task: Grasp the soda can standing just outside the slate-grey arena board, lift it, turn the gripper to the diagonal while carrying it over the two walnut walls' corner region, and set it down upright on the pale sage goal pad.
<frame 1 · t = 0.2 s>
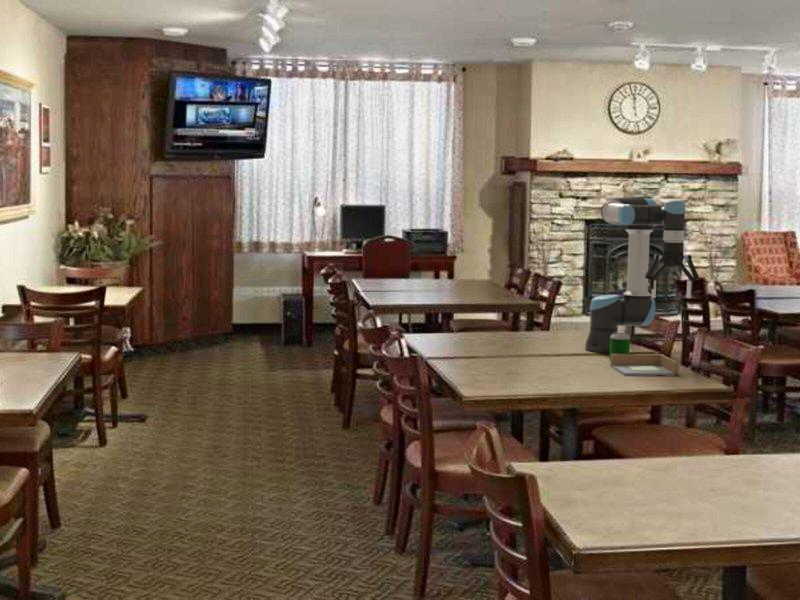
hand: (671, 298, 402), 27 cm above the table, fingers open, 13 cm apart
arena: (643, 371, 400), on the table
goal pad: (643, 368, 400), point 1 cm above the table
soda can: (619, 364, 416), on the table
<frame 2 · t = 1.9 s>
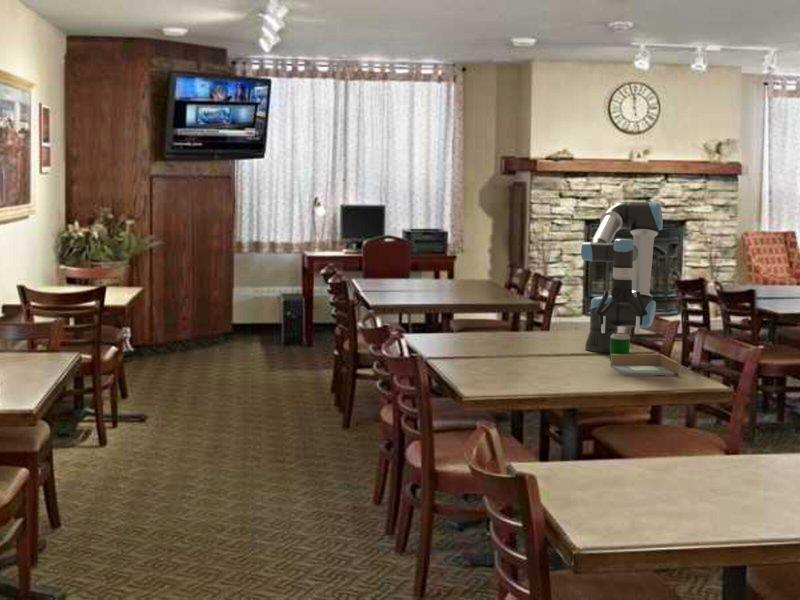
hand: (620, 333, 414), 12 cm above the table, fingers open, 13 cm apart
nothing on the table moved.
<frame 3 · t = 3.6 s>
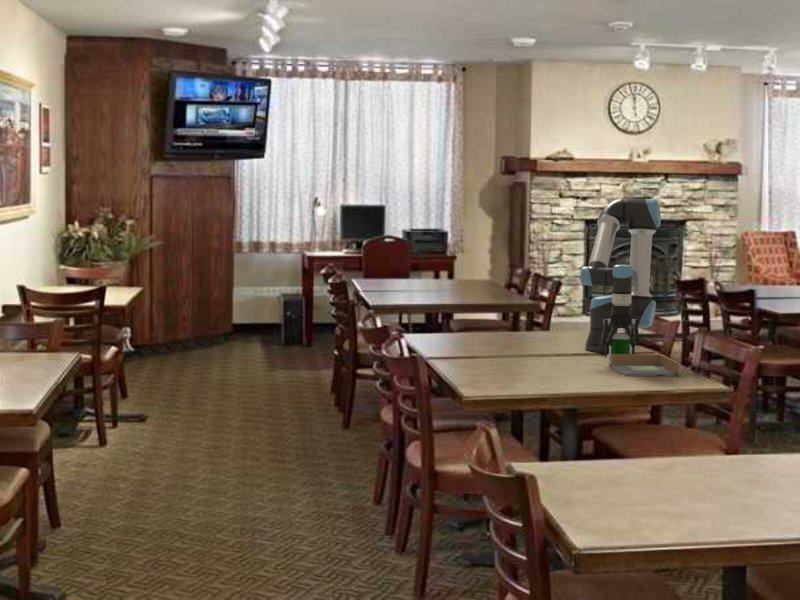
hand: (619, 362, 416), 1 cm above the table, fingers closed on soda can, 7 cm apart
soda can: (619, 364, 416), on the table, touching gripper
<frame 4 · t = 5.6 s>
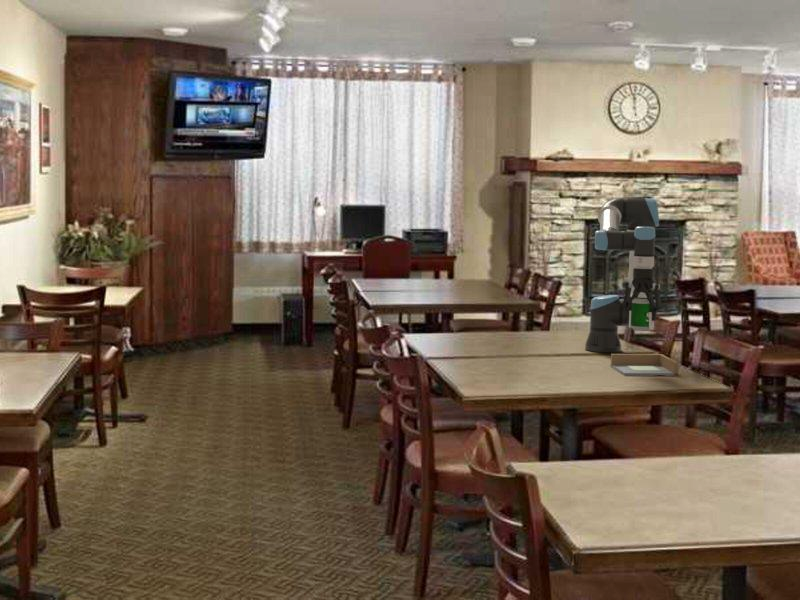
hand: (641, 328, 400), 16 cm above the table, fingers closed on soda can, 7 cm apart
soda can: (641, 330, 400), point 15 cm above the table, touching gripper
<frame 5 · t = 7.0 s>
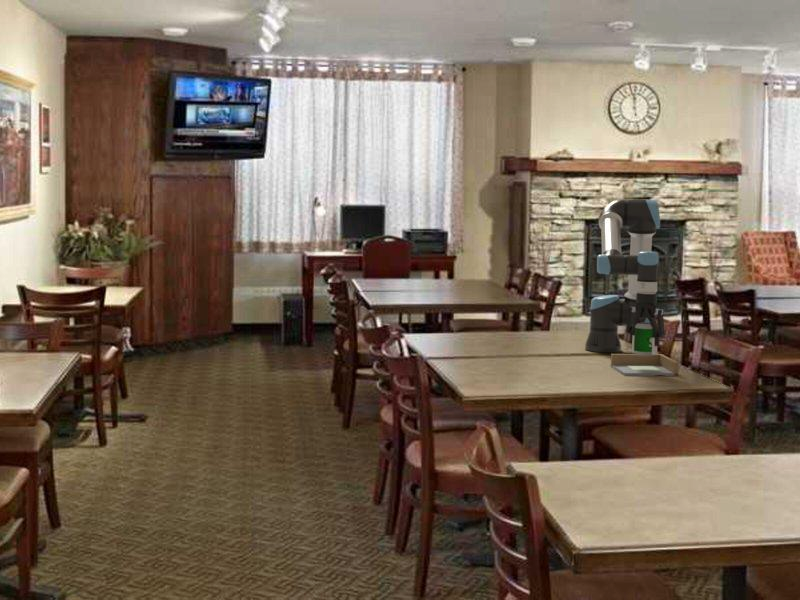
hand: (644, 353, 399), 7 cm above the table, fingers closed on soda can, 7 cm apart
soda can: (644, 355, 399), point 6 cm above the table, touching gripper
when the fingers open (4 cm above the table, at t = 7.9 s): soda can drops 2 cm, resting on goal pad.
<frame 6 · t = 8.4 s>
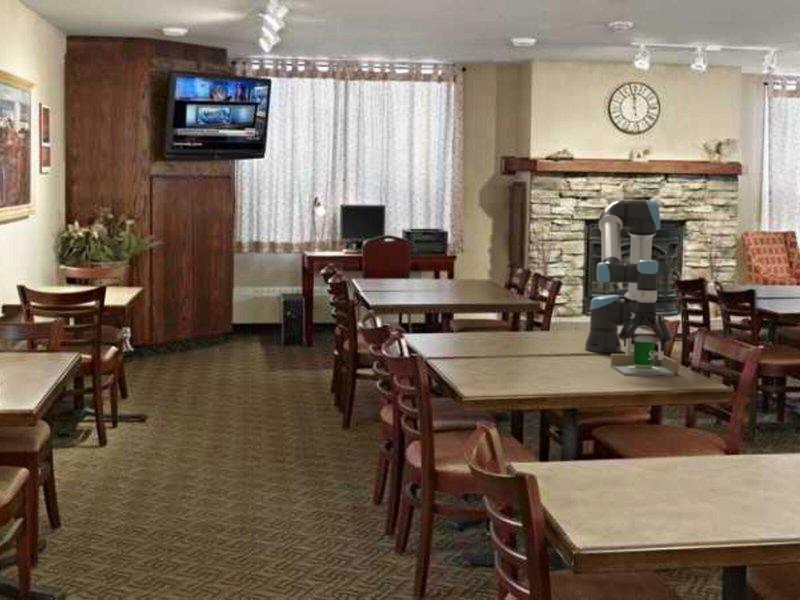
hand: (644, 357, 400), 5 cm above the table, fingers open, 13 cm apart
soda can: (643, 368, 400), point 1 cm above the table, touching goal pad
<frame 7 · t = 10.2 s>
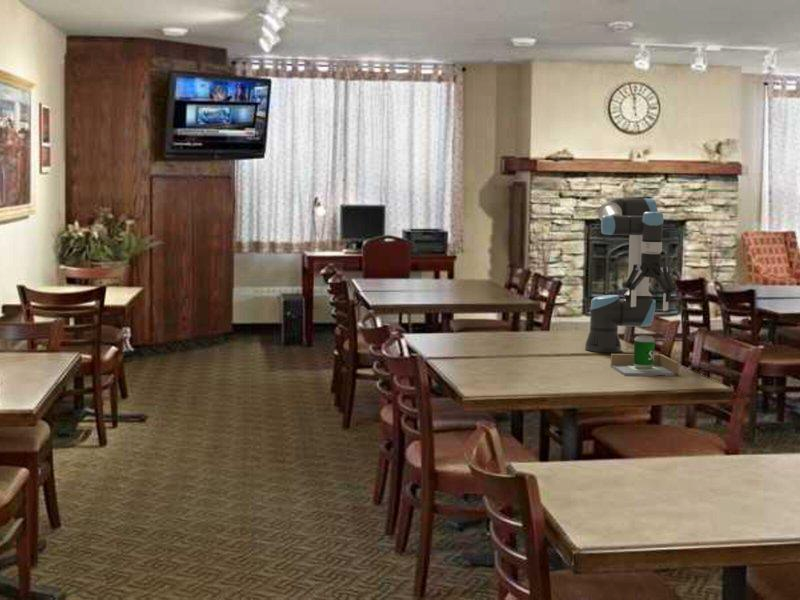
hand: (649, 308, 404), 23 cm above the table, fingers open, 13 cm apart
nothing on the table moved.
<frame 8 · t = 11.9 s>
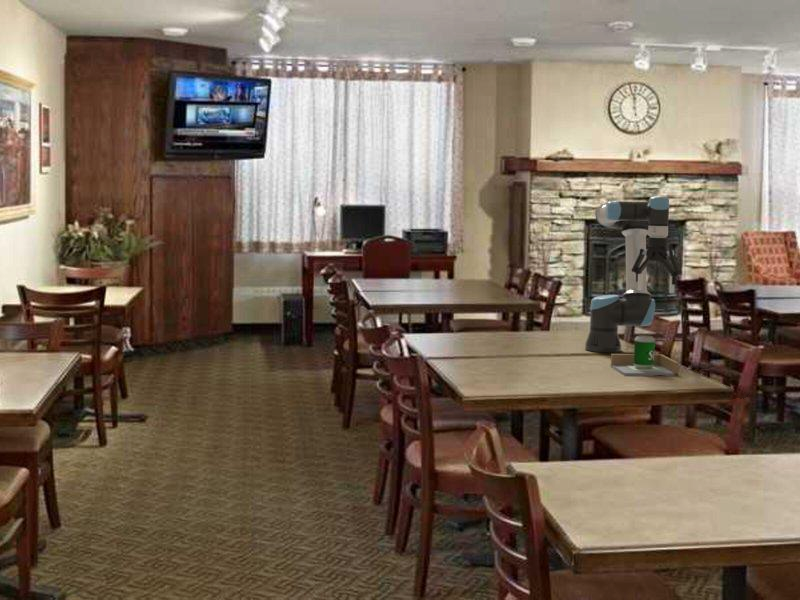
hand: (655, 291, 413), 29 cm above the table, fingers open, 13 cm apart
nothing on the table moved.
at the end: soda can inside the target area on the goal pad (0.1 cm from its centre), point 1.0 cm above the goal pad's base; soda can tilted 0°; the gripper is holding nothing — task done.
